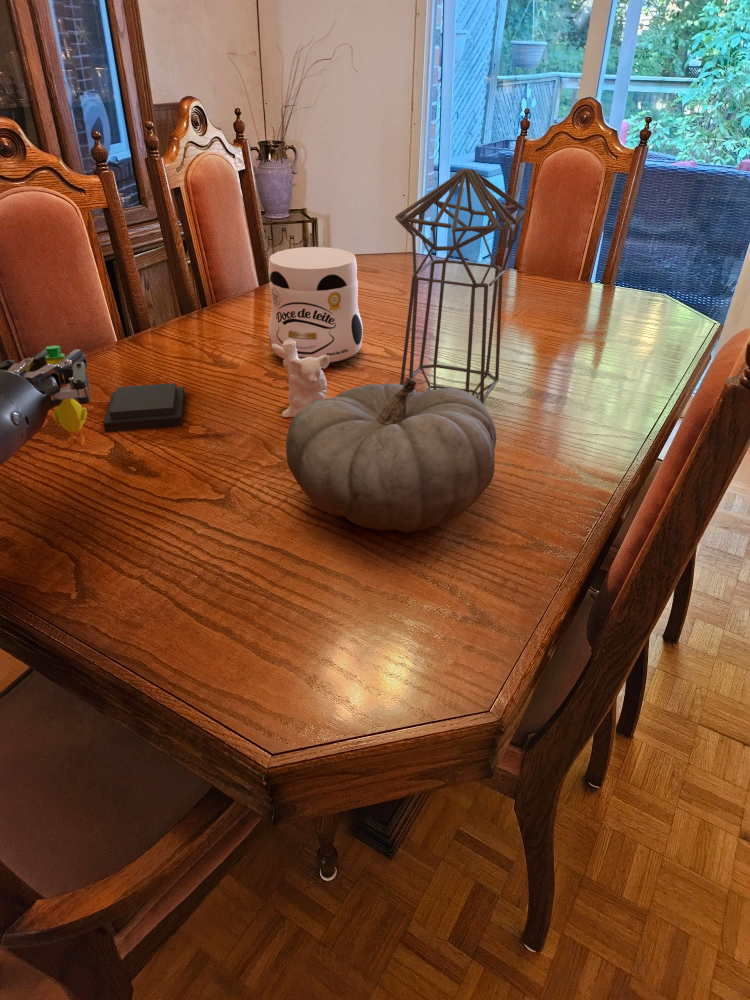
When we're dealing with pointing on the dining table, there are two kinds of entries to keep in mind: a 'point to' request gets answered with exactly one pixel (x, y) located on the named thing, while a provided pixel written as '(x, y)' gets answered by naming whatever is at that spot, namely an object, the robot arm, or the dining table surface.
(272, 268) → the milk container
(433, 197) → the geometric lantern
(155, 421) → the pad stack
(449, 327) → the dining table surface
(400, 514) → the gourd
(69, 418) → the toy figure
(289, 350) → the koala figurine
